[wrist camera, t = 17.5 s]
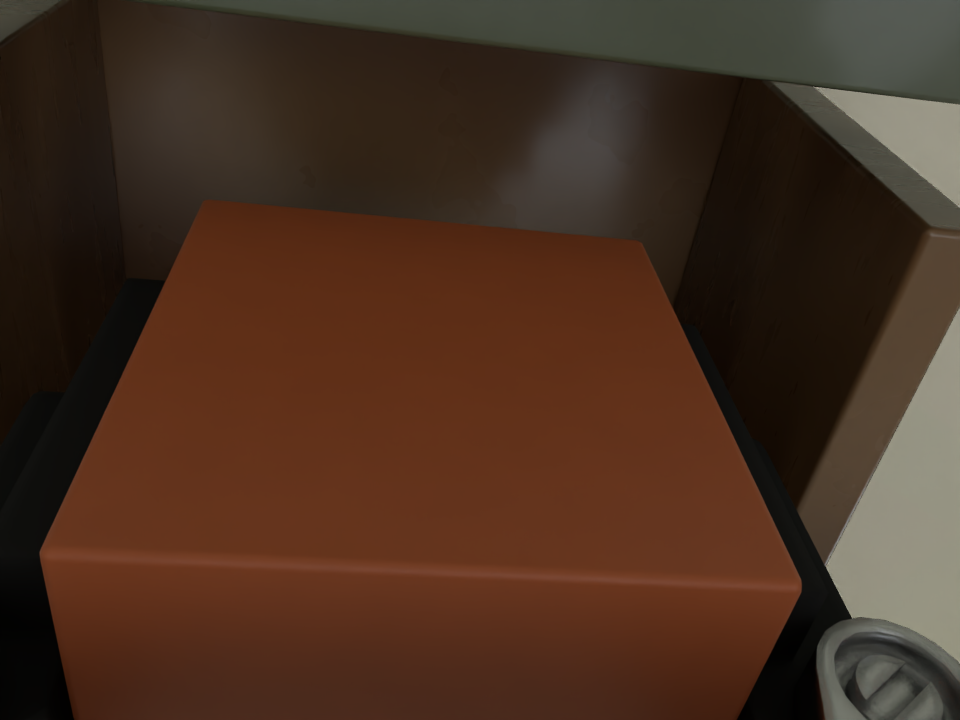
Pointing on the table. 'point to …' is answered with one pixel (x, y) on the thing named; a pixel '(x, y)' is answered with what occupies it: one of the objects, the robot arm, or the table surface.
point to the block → (412, 489)
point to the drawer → (511, 173)
